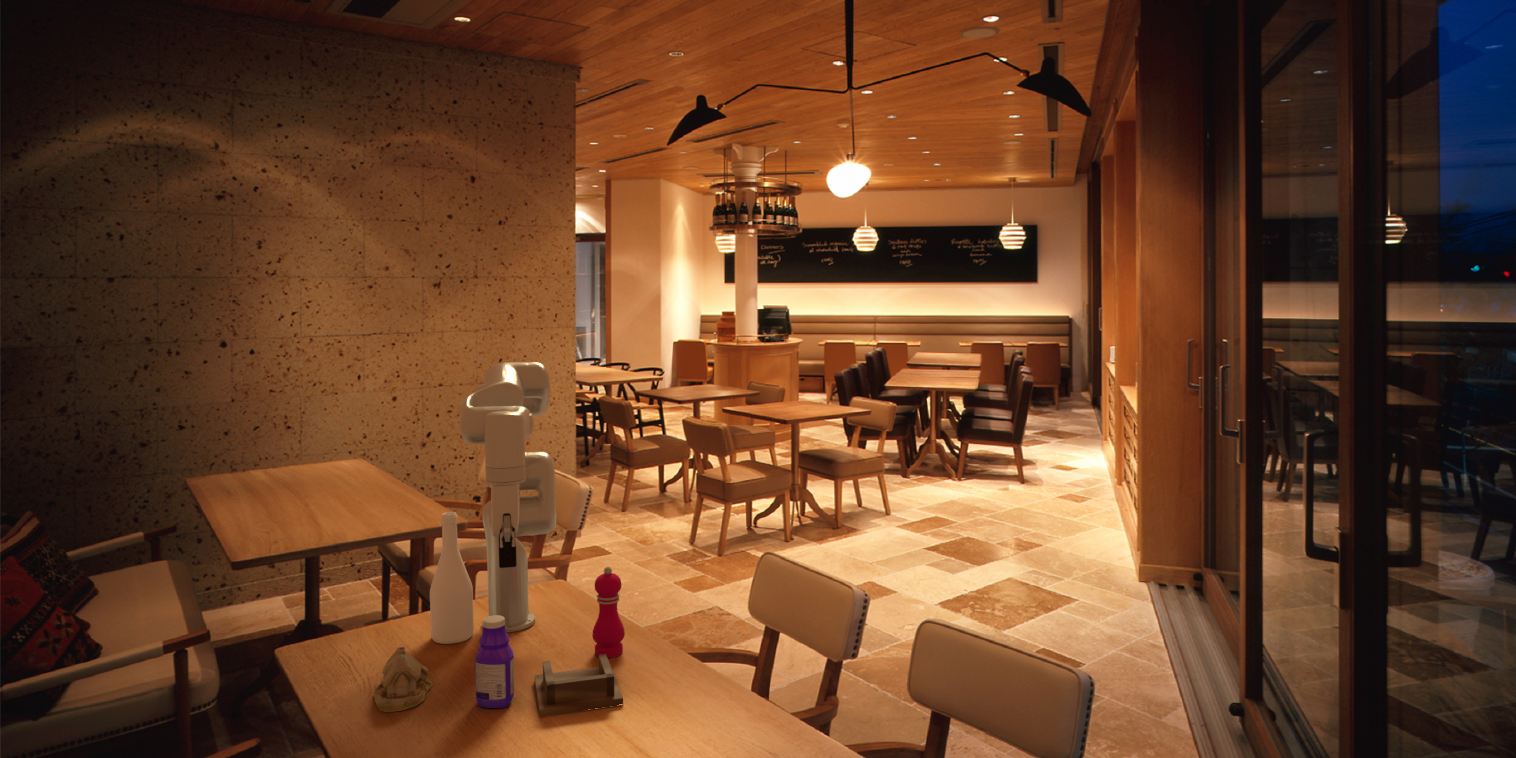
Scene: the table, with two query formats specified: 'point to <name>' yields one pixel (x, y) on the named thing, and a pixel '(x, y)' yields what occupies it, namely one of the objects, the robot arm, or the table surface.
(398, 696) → the ceramic model
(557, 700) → the bottle rest
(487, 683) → the bottle
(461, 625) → the wine bottle
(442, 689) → the table surface
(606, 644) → the pepper mill
